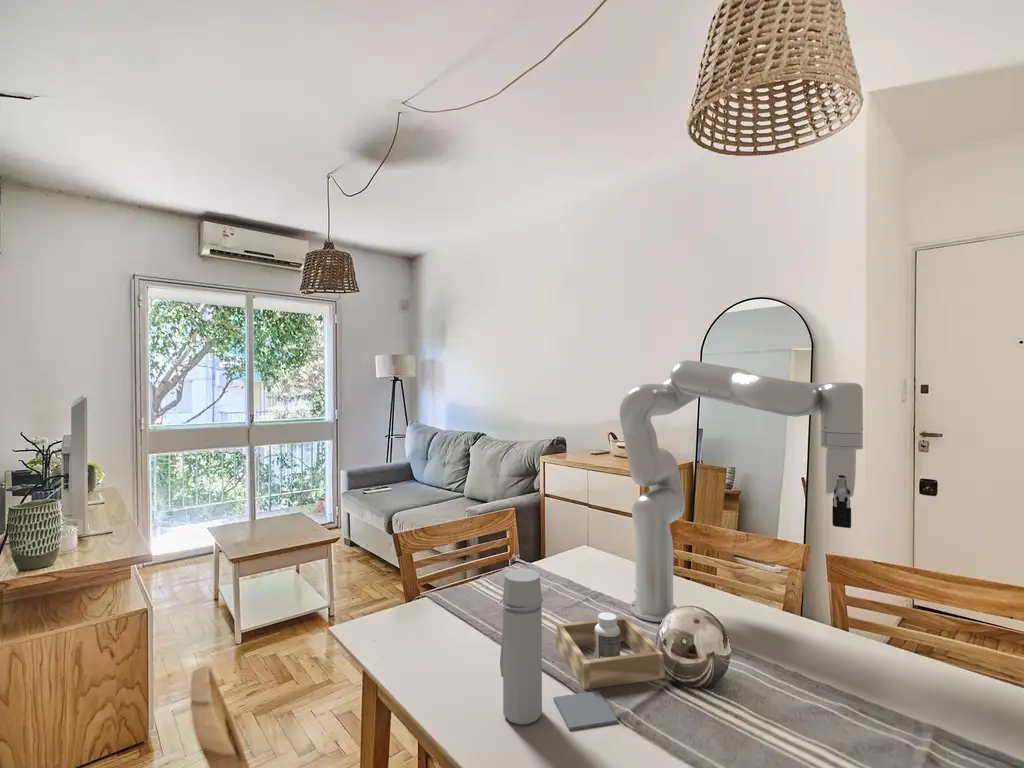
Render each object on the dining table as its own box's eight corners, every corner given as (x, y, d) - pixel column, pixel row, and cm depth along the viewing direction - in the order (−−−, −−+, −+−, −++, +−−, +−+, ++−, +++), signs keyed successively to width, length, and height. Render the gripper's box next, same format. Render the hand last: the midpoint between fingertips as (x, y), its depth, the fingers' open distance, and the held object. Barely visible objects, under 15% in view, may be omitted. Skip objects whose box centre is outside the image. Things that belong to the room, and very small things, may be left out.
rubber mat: (553, 699, 97) (553, 697, 97) (598, 693, 99) (598, 690, 99) (569, 730, 88) (569, 727, 88) (617, 722, 90) (617, 719, 90)
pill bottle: (625, 663, 110) (625, 617, 110) (607, 671, 107) (606, 623, 107) (607, 652, 115) (607, 608, 115) (589, 659, 112) (589, 614, 112)
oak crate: (556, 646, 117) (556, 624, 117) (626, 638, 121) (626, 616, 121) (583, 689, 100) (583, 663, 100) (664, 678, 104) (664, 653, 104)
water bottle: (552, 713, 93) (551, 574, 93) (521, 734, 87) (521, 586, 88) (516, 692, 99) (515, 562, 100) (485, 710, 94) (485, 573, 94)
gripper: (821, 436, 118) (822, 511, 118) (819, 443, 104) (819, 528, 104) (861, 438, 114) (861, 515, 114) (864, 445, 100) (864, 534, 100)
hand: (841, 521), depth 109 cm, fingers open, 9 cm apart
